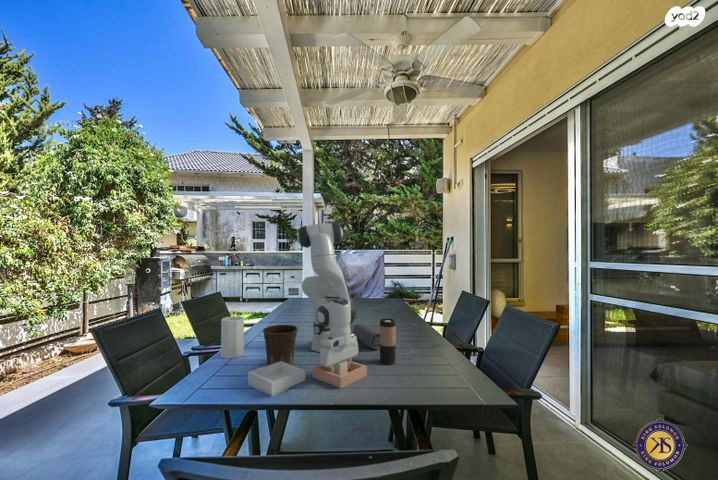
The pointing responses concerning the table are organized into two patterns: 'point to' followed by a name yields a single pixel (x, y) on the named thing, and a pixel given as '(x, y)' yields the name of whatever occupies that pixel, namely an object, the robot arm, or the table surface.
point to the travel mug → (387, 341)
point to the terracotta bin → (324, 374)
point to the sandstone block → (341, 368)
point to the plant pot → (280, 343)
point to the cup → (232, 337)
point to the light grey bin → (275, 378)
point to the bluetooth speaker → (367, 336)
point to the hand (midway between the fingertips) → (339, 371)
